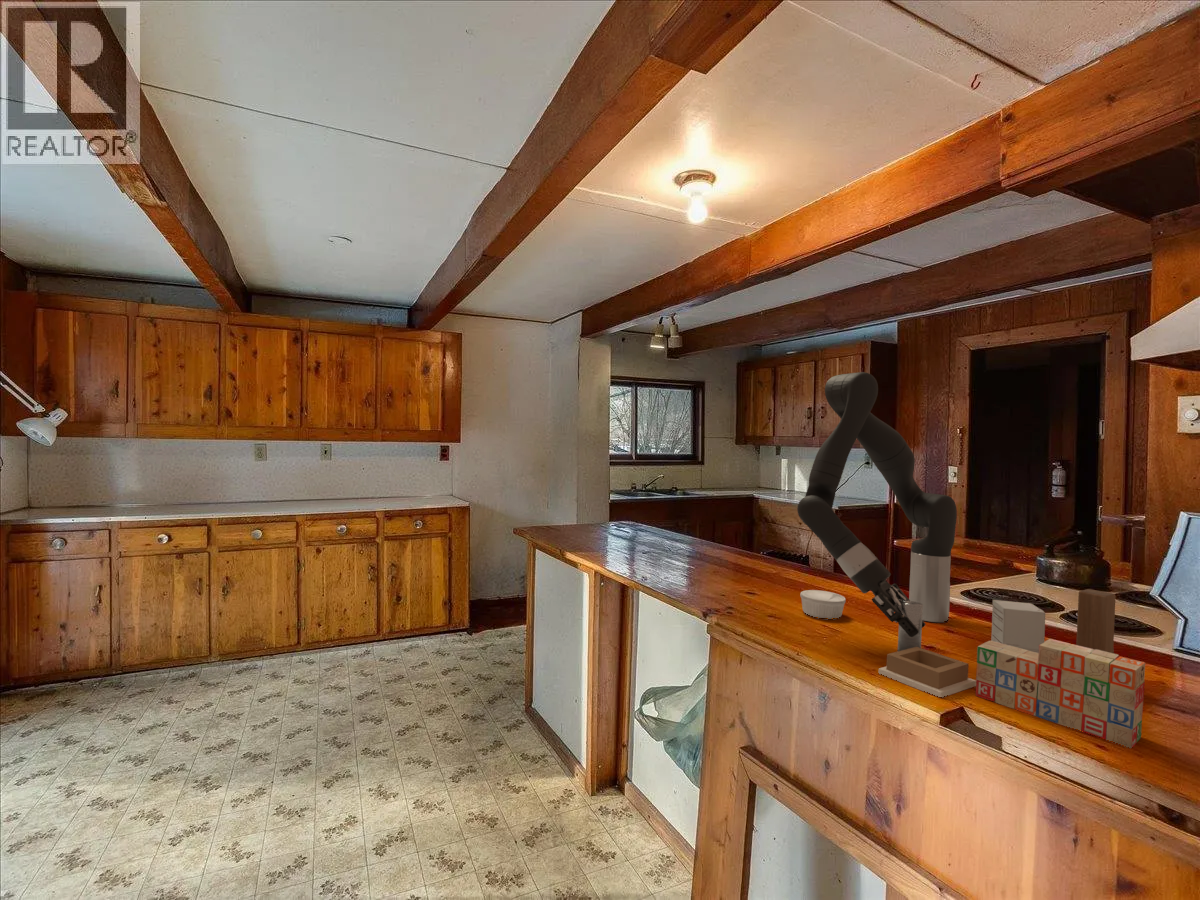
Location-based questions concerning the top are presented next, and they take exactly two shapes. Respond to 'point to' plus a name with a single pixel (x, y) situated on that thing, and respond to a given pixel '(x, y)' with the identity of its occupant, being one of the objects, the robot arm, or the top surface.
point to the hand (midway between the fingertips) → (918, 630)
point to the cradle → (928, 671)
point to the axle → (915, 616)
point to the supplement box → (1018, 625)
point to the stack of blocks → (1066, 686)
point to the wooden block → (1096, 620)
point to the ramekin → (822, 603)
